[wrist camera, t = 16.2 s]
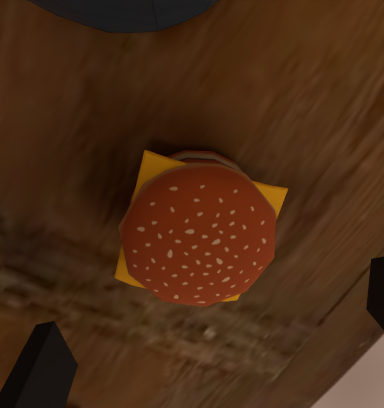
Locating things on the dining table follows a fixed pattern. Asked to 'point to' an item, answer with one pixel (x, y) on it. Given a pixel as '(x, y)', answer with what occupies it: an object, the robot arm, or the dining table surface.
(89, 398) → the dining table surface
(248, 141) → the dining table surface
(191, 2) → the blue pot
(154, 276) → the hamburger
